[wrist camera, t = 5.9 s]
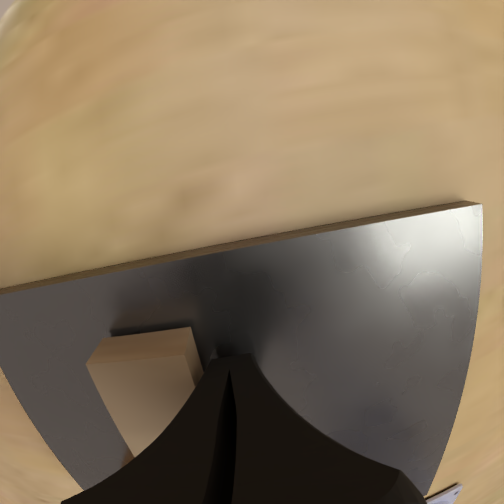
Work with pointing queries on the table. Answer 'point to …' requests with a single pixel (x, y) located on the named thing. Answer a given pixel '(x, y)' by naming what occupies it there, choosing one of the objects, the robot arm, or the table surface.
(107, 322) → the base plate
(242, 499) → the robot arm
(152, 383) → the link
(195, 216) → the table surface
